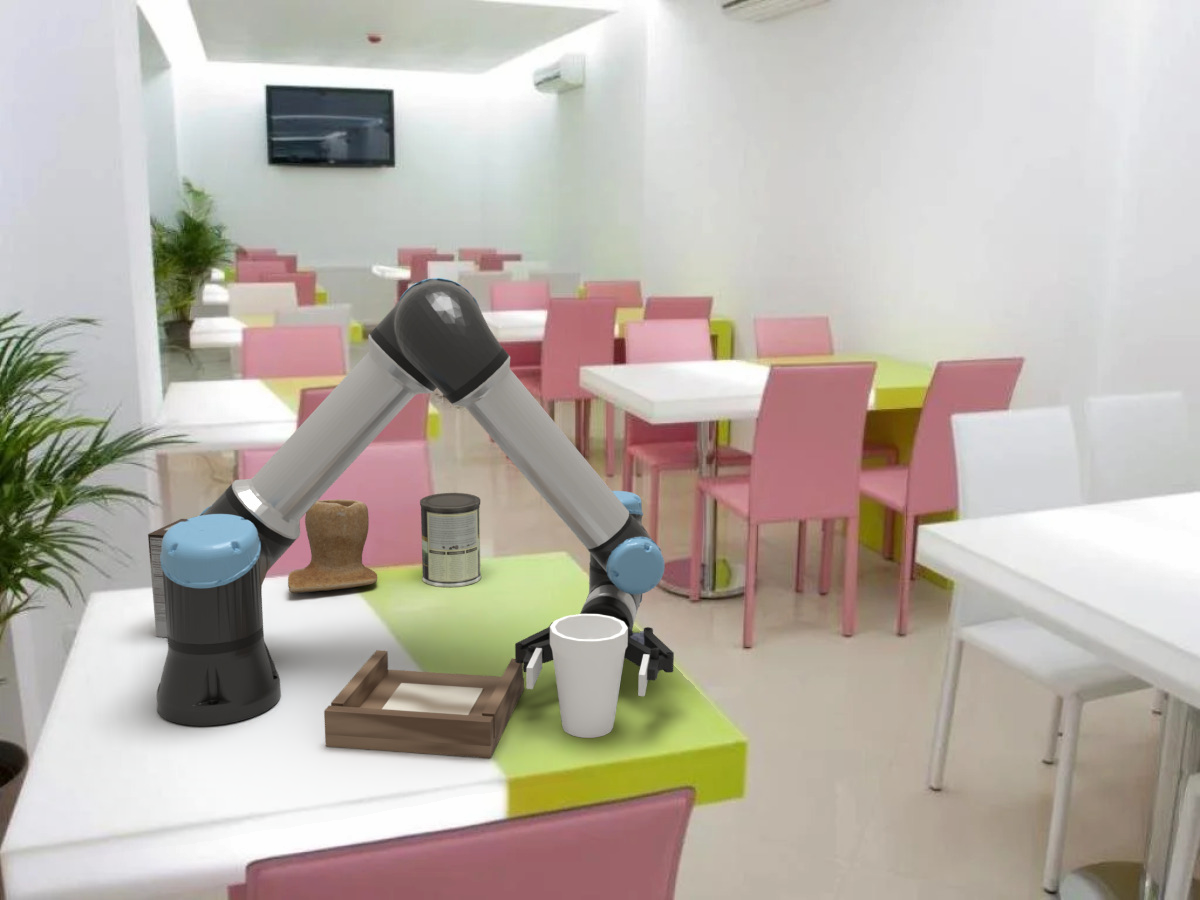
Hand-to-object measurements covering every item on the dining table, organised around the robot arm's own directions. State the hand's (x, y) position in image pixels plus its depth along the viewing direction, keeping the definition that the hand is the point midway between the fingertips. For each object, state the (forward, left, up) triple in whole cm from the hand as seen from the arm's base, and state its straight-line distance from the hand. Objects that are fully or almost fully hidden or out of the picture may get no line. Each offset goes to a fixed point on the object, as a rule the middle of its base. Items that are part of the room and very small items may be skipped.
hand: (585, 682), depth 135 cm
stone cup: (-67, +24, -7) cm, 72 cm away
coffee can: (-53, +38, -7) cm, 66 cm away
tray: (-19, -6, -7) cm, 21 cm away
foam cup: (-1, +3, -7) cm, 8 cm away
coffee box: (-70, -3, -7) cm, 70 cm away
